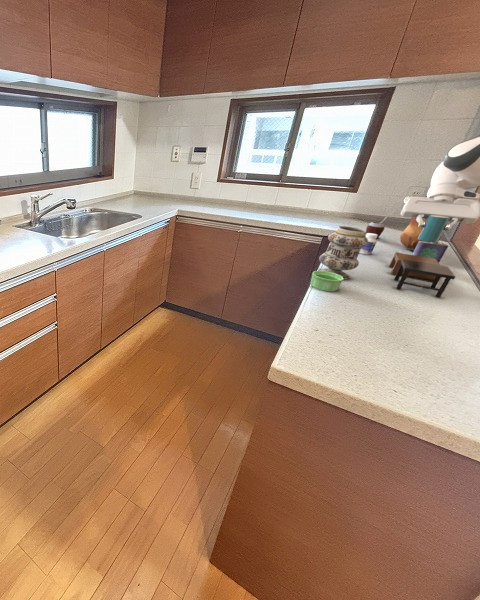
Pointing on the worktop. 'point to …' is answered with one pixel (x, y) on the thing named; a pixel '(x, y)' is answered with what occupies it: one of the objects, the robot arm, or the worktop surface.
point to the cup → (433, 228)
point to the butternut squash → (412, 235)
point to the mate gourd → (376, 227)
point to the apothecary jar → (343, 250)
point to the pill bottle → (369, 244)
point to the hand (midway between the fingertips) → (434, 228)
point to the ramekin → (326, 280)
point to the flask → (430, 250)
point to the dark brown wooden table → (424, 269)
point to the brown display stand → (399, 256)
